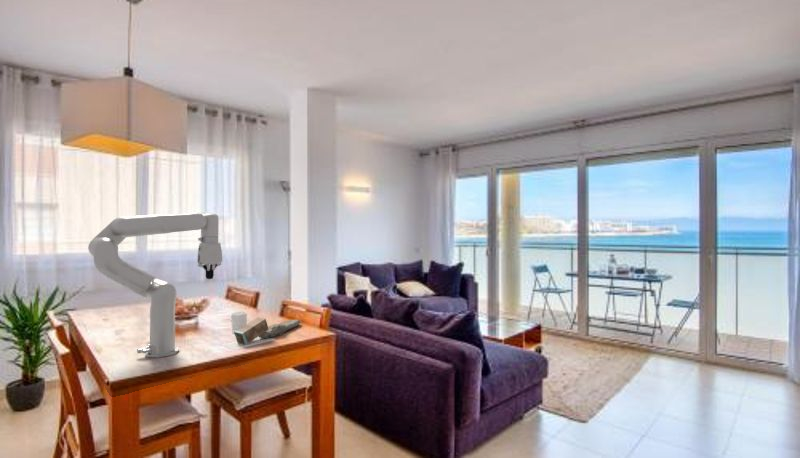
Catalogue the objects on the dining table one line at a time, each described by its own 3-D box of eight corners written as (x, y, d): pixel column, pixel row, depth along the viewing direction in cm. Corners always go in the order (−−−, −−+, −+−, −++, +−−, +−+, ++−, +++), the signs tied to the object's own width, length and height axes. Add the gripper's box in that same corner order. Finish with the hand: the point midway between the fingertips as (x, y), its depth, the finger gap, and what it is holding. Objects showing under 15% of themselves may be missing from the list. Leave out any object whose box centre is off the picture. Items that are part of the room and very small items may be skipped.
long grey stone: (305, 326, 233) (289, 326, 235) (305, 317, 233) (289, 317, 235) (270, 339, 199) (252, 338, 201) (270, 328, 199) (252, 327, 202)
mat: (234, 350, 184) (234, 349, 184) (221, 345, 191) (221, 344, 191) (276, 340, 201) (276, 339, 201) (262, 335, 209) (262, 335, 209)
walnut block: (241, 333, 190) (265, 318, 201) (233, 331, 193) (257, 317, 204) (245, 345, 191) (268, 329, 202) (237, 342, 195) (260, 327, 206)
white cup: (237, 335, 209) (237, 315, 209) (227, 333, 214) (227, 314, 213) (250, 331, 216) (250, 313, 216) (240, 329, 220) (240, 311, 220)
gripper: (197, 240, 185) (197, 281, 186) (228, 239, 197) (228, 277, 197) (189, 240, 190) (189, 279, 190) (220, 239, 202) (220, 276, 202)
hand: (209, 278), depth 194 cm, fingers closed
